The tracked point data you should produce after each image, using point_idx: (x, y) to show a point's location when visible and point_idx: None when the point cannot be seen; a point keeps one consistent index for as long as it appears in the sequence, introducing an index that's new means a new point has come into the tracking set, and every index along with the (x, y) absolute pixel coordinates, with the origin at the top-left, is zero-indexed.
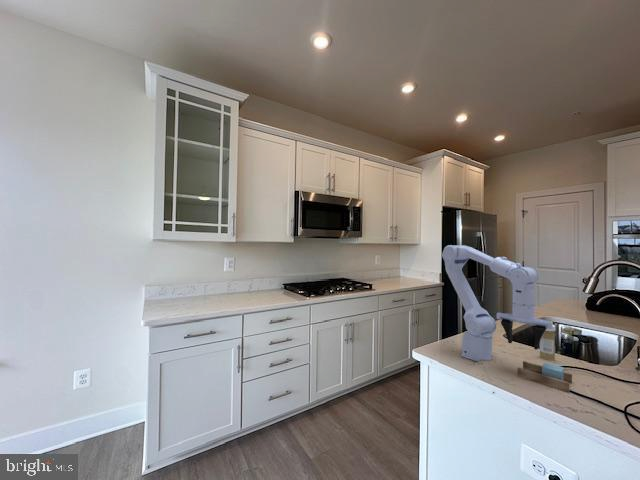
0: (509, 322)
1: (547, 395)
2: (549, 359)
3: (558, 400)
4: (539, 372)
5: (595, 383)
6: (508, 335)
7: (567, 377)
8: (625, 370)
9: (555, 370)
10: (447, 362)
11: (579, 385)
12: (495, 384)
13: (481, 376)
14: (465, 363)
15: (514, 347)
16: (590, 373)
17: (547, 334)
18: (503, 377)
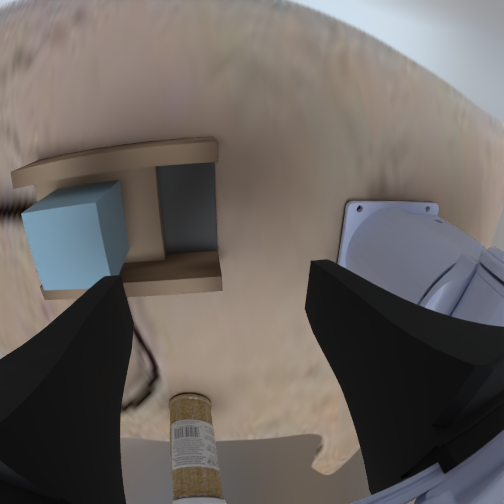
0: (447, 431)
1: (87, 85)
2: (178, 404)
3: (54, 81)
4: (151, 264)
5: None
6: (366, 288)
7: None
8: None
9: (41, 210)
10: (456, 108)
11: None
12: (278, 10)
13: (344, 50)
14: (417, 145)
15: (288, 417)
16: None
17: (189, 484)
18: (269, 109)
